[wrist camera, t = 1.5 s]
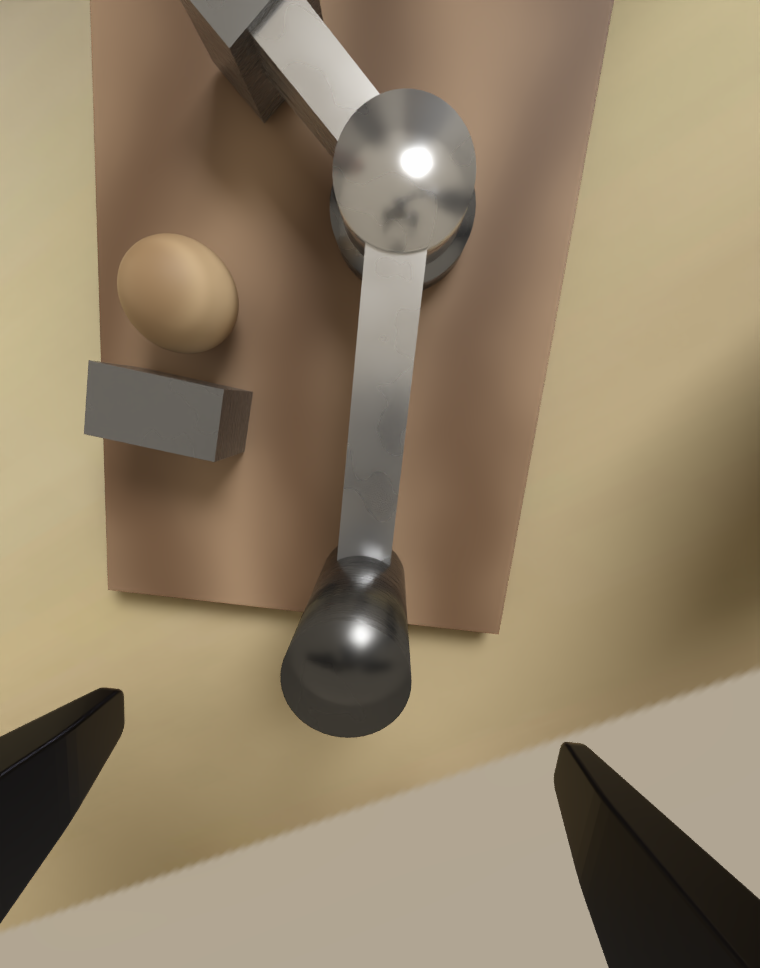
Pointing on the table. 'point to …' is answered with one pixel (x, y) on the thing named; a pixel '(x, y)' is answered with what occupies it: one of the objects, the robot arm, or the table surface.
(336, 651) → the lever
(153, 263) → the tan ball
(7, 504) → the table surface
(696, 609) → the table surface
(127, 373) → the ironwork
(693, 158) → the table surface
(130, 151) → the board
